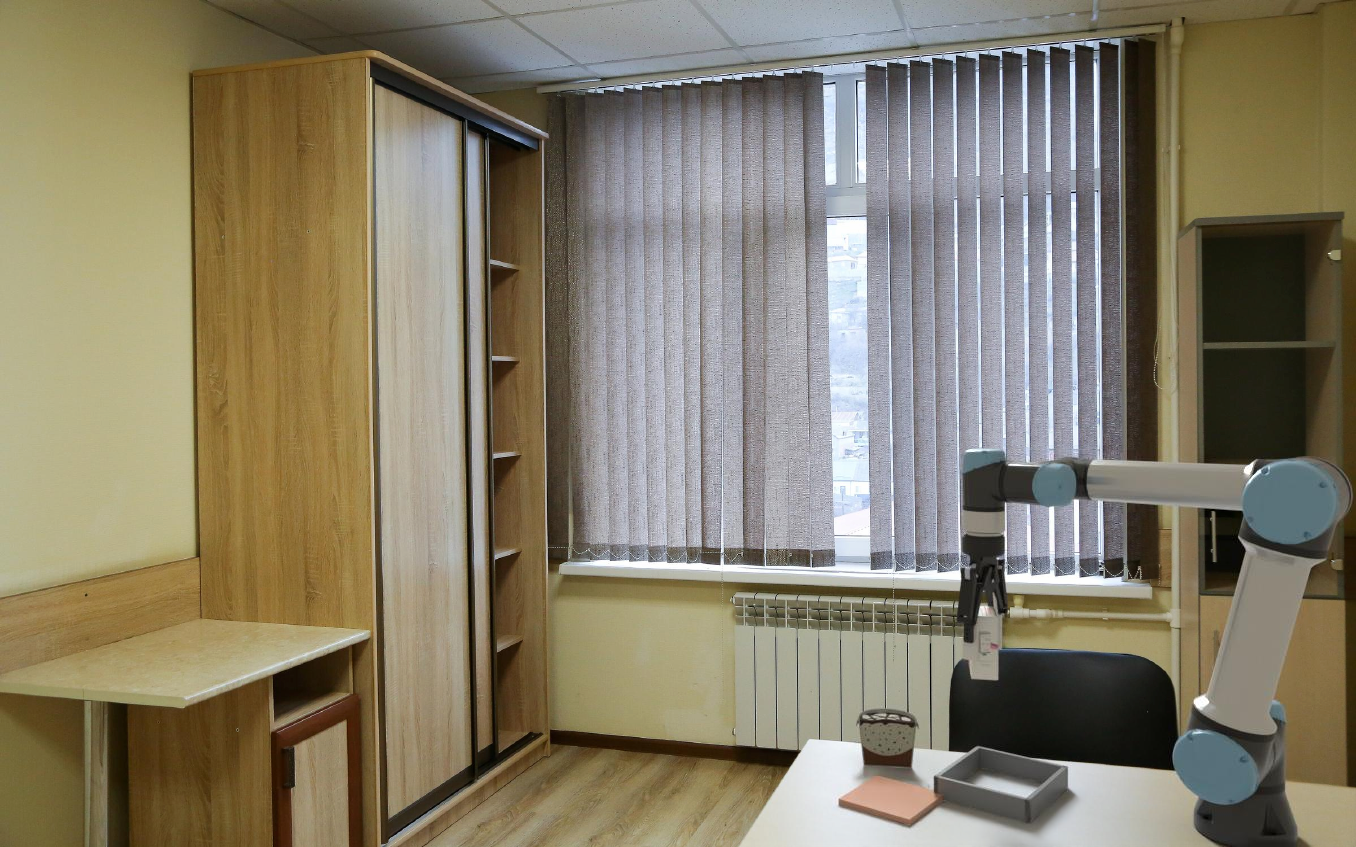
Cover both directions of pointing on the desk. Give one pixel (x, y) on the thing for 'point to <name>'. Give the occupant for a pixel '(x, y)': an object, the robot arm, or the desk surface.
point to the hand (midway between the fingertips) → (982, 653)
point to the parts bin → (998, 801)
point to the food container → (887, 737)
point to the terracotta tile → (891, 799)
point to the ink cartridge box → (987, 644)
